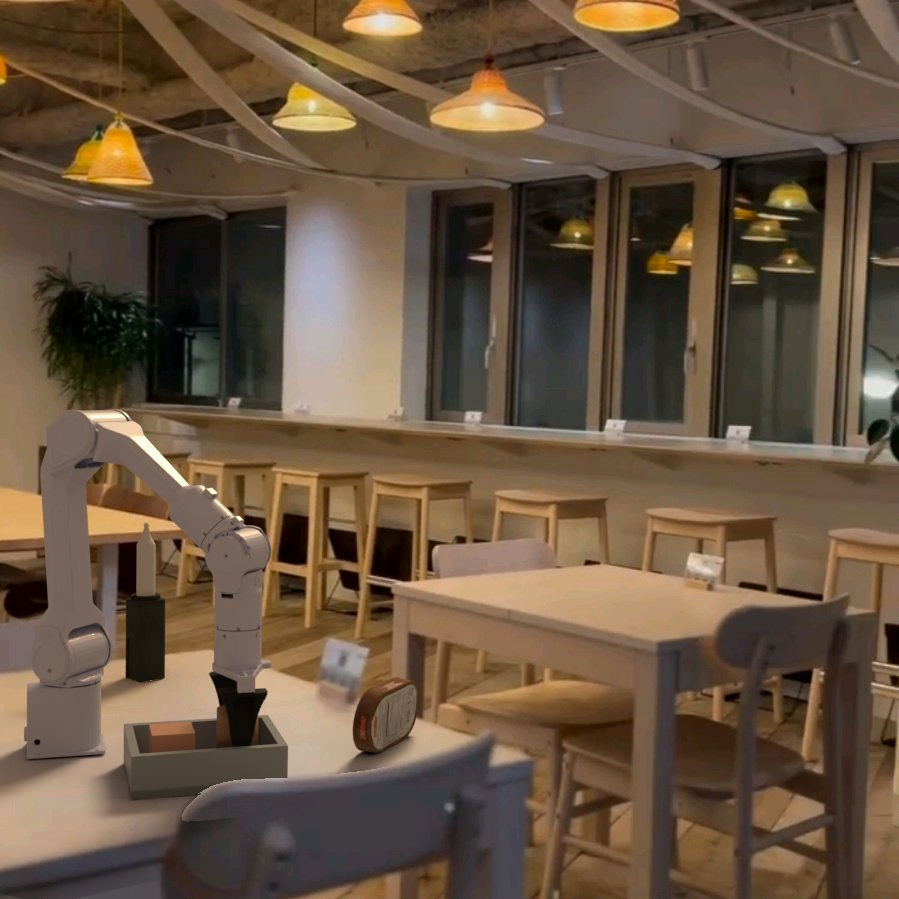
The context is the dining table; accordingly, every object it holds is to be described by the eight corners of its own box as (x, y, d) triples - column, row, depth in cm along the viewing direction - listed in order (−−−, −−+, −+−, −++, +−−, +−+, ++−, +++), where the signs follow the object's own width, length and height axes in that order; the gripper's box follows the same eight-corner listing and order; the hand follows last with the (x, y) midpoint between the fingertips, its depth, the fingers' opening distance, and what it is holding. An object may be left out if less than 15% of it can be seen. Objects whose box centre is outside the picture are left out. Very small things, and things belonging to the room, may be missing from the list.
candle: (167, 677, 200) (169, 522, 199) (140, 683, 196) (141, 525, 195) (149, 672, 203) (150, 520, 202) (122, 677, 200) (123, 522, 198)
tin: (401, 729, 173) (402, 669, 173) (421, 732, 172) (422, 672, 172) (349, 758, 160) (350, 693, 159) (371, 762, 158) (372, 696, 158)
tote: (130, 800, 142) (131, 756, 142) (123, 763, 155) (123, 724, 155) (287, 787, 148) (288, 745, 147) (267, 753, 161) (267, 714, 161)
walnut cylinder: (219, 772, 149) (219, 714, 149) (213, 760, 154) (214, 704, 154) (260, 769, 151) (261, 712, 151) (254, 757, 156) (254, 701, 155)
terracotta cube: (151, 777, 147) (152, 735, 147) (148, 764, 152) (149, 724, 151) (194, 774, 148) (195, 733, 148) (190, 762, 153) (190, 721, 153)
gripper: (281, 637, 146) (279, 751, 147) (261, 614, 160) (259, 719, 161) (220, 640, 144) (219, 756, 145) (205, 616, 158) (204, 722, 158)
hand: (236, 737), depth 152 cm, fingers open, 7 cm apart
